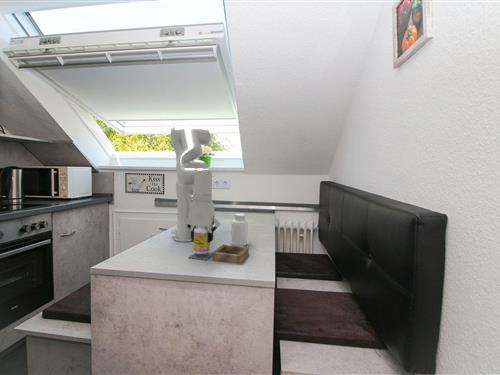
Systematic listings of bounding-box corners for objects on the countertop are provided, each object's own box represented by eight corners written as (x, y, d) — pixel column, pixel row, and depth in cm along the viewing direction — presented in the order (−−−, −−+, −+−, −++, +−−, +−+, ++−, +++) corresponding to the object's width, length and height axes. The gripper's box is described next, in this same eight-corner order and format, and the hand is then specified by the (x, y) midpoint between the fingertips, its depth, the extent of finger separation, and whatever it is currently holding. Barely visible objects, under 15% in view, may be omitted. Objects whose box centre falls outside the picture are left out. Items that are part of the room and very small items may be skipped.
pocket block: (212, 260, 94) (212, 253, 94) (222, 250, 106) (223, 244, 105) (240, 263, 91) (240, 256, 91) (248, 253, 103) (248, 247, 102)
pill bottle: (240, 247, 111) (241, 216, 110) (227, 244, 115) (228, 214, 115) (250, 244, 117) (251, 214, 116) (238, 240, 122) (238, 212, 121)
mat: (188, 258, 95) (188, 257, 95) (197, 252, 103) (197, 251, 103) (206, 260, 94) (206, 259, 93) (214, 254, 101) (214, 253, 101)
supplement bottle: (190, 253, 96) (190, 222, 96) (199, 248, 103) (199, 219, 102) (204, 255, 94) (204, 223, 93) (212, 250, 100) (213, 220, 100)
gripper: (178, 198, 95) (178, 241, 97) (218, 200, 91) (217, 245, 92) (188, 196, 103) (187, 236, 104) (225, 198, 98) (224, 240, 100)
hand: (201, 240), depth 98 cm, fingers closed on supplement bottle, 6 cm apart
